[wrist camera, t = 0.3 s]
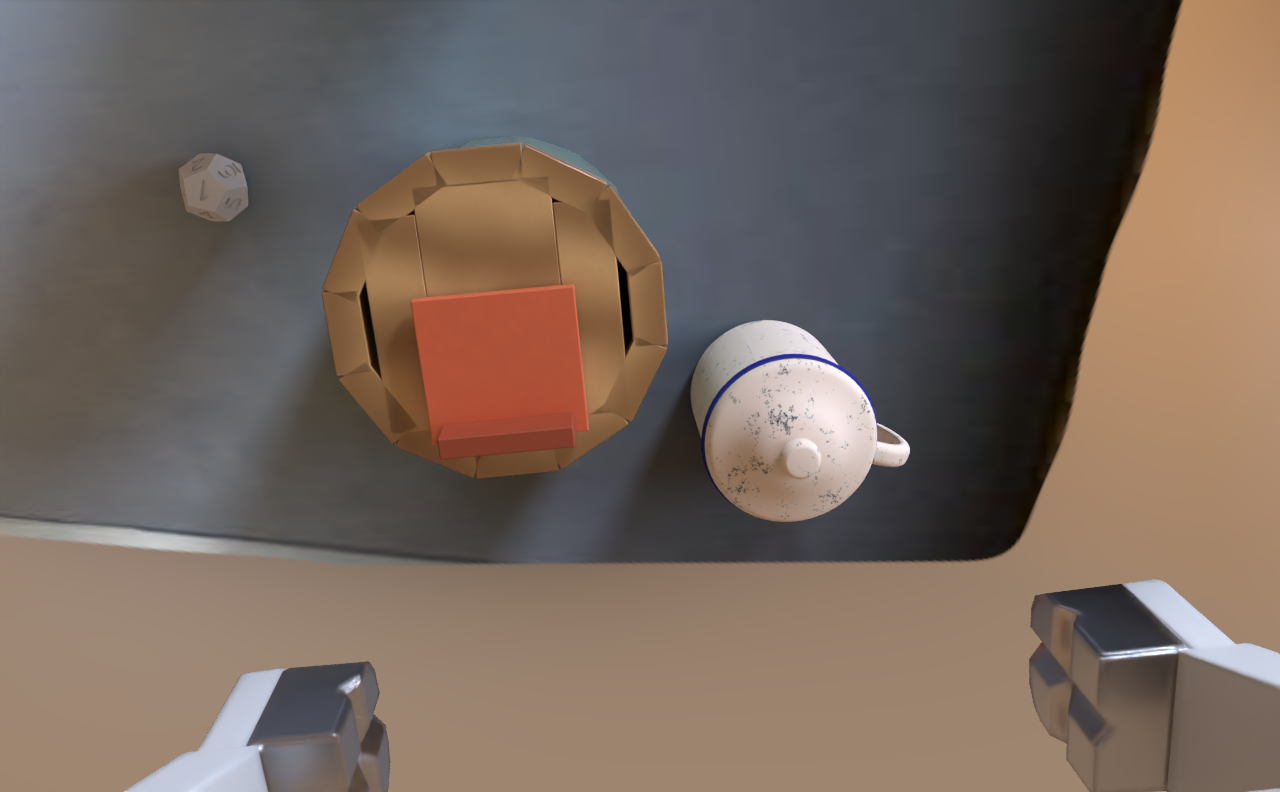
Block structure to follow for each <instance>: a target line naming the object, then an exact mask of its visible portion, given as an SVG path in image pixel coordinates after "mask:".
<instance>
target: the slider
mask: <svg viewBox="0 0 1280 792" xmlns="http://www.w3.org/2000/svg"><path fill="white" fill-rule="evenodd" d="M411 309H412V316H413V322H414V328H415V335H416V341H417V348H418V354H419V361H420V367H421V374H422V380H423V387H424V393H425V400H426V406H427V413H428V419H429V426H430V432H431V439H432V444H433V445H438V450H439V457H440V459H441V460H445V459H456V458H466V457H477V456H487V455H498V454H508V453H519V452H529V451H540V450H550V449H561V448H571V447H575V438H576V432H579V431H588V430H589V424H588V415H587V405H586V395H585V386H584V376H583V366H582V357H581V347H580V337H579V328H578V318H577V308H576V299H575V289H574V284H567V285H556V286H545V287H534V288H523V289H512V290H501V291H490V292H479V293H469V294H458V295H447V296H436V297H425V298H414V299H412V300H411Z"/></svg>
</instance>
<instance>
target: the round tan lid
mask: <svg viewBox="0 0 1280 792" xmlns="http://www.w3.org/2000/svg"><path fill="white" fill-rule="evenodd" d="M606 185H607V182H606V180H604V179H601V178H599V177H597V176H595V175H593V174H591V173H589V172H587V171H584V170H582V169H580V168H578V167H576V166H574V165H572V164H570V163H567V162H565V161H563V160H561V159H559V158H557V157H555V156H553V155H551V154H548V153H546V152H544V151H542V150H540V149H538V148H536V147H534V146H531V145H529V144H525V146H524V148H523V144H522V143H521V142H519V143H508V144H497V145H485V146H474V147H463V148H451V149H440V150H434V151H432V152H431V153H430V152H428V153H426V154H425V155H424V156H422V157H421V158H419V159H418V160H417V161H415V162H414V163H413V164H411V165H410V166H409V167H407V168H406V169H405V170H403V171H402V172H401V173H399V174H398V175H396V176H395V177H394V178H392V179H391V180H390V181H388V182H387V183H386V184H384V185H383V186H382V187H380V188H379V189H377V190H376V191H375V192H373V193H372V194H371V195H369V196H368V197H367V198H365V199H364V200H363V201H361V202H360V203H359V204H357V205H356V208H355V209H353V210H352V213H351V215H350V218H349V221H348V223H347V226H346V228H345V231H344V233H343V236H342V238H341V241H340V244H339V246H338V249H337V251H336V254H335V256H334V259H333V262H332V264H331V267H330V269H329V272H328V274H327V277H326V279H325V282H324V285H323V287H322V289H323V290H325V291H324V292H322V299H323V304H324V310H325V315H326V321H327V327H328V332H329V338H330V343H331V349H332V354H333V360H334V365H335V371H336V376H341V377H340V378H339V381H340V383H341V384H342V385H343V386H344V387H345V388H346V390H347V391H348V392H349V393H350V394H351V396H352V397H353V398H354V399H355V400H356V402H357V403H358V404H359V405H360V406H361V408H362V409H363V410H364V411H365V412H366V414H367V415H368V416H369V417H370V418H371V420H372V421H373V422H374V423H375V424H376V426H377V427H378V428H379V429H380V430H381V432H382V433H383V434H384V435H385V436H386V438H387V439H388V440H389V441H390V442H391V444H394V443H395V442H397V441H398V442H397V444H396V447H398V448H400V449H403V450H405V451H407V452H410V453H412V454H415V455H417V456H420V457H422V458H425V459H427V460H430V461H432V462H435V463H437V464H439V465H442V466H444V467H447V468H449V469H452V470H454V471H457V472H459V473H462V474H464V475H467V476H469V477H472V478H473V477H474V475H475V473H476V477H477V478H489V477H499V476H510V475H520V474H531V473H541V472H551V471H558V469H559V466H560V468H562V469H563V468H565V467H566V466H568V465H569V464H571V463H572V462H574V461H575V460H577V459H578V458H580V457H581V456H583V455H584V454H586V453H587V452H589V451H590V450H592V449H593V448H595V447H596V446H598V445H599V444H600V443H602V442H603V441H605V440H606V439H608V438H609V437H611V436H612V435H614V434H615V433H617V432H618V431H620V430H621V429H623V428H624V427H626V426H627V425H628V421H632V420H633V418H634V416H635V414H636V412H637V410H638V408H639V406H640V404H641V402H642V400H643V398H644V396H645V394H646V392H647V390H648V388H649V386H650V383H651V381H652V379H653V377H654V375H655V373H656V371H657V369H658V367H659V365H660V363H661V361H662V359H663V357H664V355H665V353H666V351H667V347H666V345H668V337H667V323H666V310H665V297H664V284H663V271H662V263H661V260H660V256H659V254H658V252H657V251H656V249H655V248H654V246H653V245H652V244H651V242H650V241H649V239H648V238H647V236H646V235H645V233H644V232H643V231H642V229H641V228H640V226H639V225H638V223H637V222H636V220H635V219H634V218H633V216H632V215H631V213H630V212H629V210H628V209H627V208H626V206H625V205H624V203H623V202H622V200H621V199H620V197H619V196H618V195H617V193H616V192H615V190H614V189H613V187H612V186H611V185H610V184H609V185H607V186H606ZM552 198H553V199H555V200H553V199H552ZM412 211H414V212H412ZM617 259H618V261H619V262H620V263H621V265H622V266H623V268H624V269H625V270H626V273H627V284H628V296H629V307H630V318H631V330H632V338H631V340H630V342H629V344H628V346H627V348H626V350H625V345H624V334H623V323H622V312H621V301H620V290H619V278H618V267H617ZM567 284H574V289H575V299H576V308H577V318H578V328H579V337H580V347H581V357H582V366H583V376H584V386H585V395H586V405H587V415H588V424H589V430H588V431H579V432H576V438H575V447H571V448H561V449H550V450H540V451H529V452H519V453H508V454H498V455H487V456H477V457H466V458H456V459H445V460H441V459H440V457H439V450H438V445H433V444H432V439H431V432H430V426H429V419H428V413H427V406H426V400H425V393H424V387H423V380H422V374H421V367H420V361H419V354H418V348H417V341H416V335H415V328H414V322H413V316H412V309H411V300H412V299H414V298H425V297H436V296H447V295H458V294H469V293H479V292H490V291H501V290H512V289H523V288H534V287H545V286H556V285H567ZM365 286H366V288H367V294H368V300H369V306H370V312H371V318H372V324H373V330H374V336H375V342H376V348H377V354H378V360H379V366H380V367H379V366H378V365H377V363H376V362H375V361H374V356H373V350H372V344H371V338H370V333H369V327H368V321H367V315H366V309H365V303H364V297H363V291H364V288H365Z"/></svg>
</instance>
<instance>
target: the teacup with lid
mask: <svg viewBox="0 0 1280 792" xmlns="http://www.w3.org/2000/svg"><path fill="white" fill-rule="evenodd" d="M691 405H692V410H693V414H694V417H695V420H696V424H697V427H698V430H699V433H700V436H701V448H702V456H703V461H704V464H705V468H706V470H707V473H708V475H709V477H710V479H711V481H712V482H713V484H714V486H715V487H716V488H717V490H718V491H719V492H720V493H721V495H722V496H723V497H724V498H726V499H727V500H728V501H729V502H730V503H731V504H733V505H734V506H736V507H737V508H739V509H740V510H742V511H744V512H746V513H748V514H750V515H753V516H755V517H758V518H762V519H765V520H771V521H779V522H792V521H801V520H806V519H810V518H814V517H816V516H819V515H822V514H824V513H826V512H828V511H830V510H832V509H833V508H835V507H837V506H838V505H840V504H841V503H842V502H844V501H845V500H846V499H847V498H848V497H850V496H851V495H852V494H853V492H854V491H855V490H856V489H857V488H858V487H859V486H860V484H861V483H862V481H863V480H864V478H865V477H866V475H867V473H868V471H869V469H870V467H871V464H875V465H880V466H886V467H898V466H901V465H903V464H904V463H905V462H906V460H907V458H908V456H909V452H910V448H909V445H908V444H907V442H906V441H905V440H904V439H903V438H902V437H900V436H899V435H898V434H896V433H895V432H893V431H892V430H890V429H888V428H886V427H884V426H882V425H880V424H878V423H877V419H876V414H875V411H874V407H873V404H872V402H871V400H870V398H869V396H868V394H867V392H866V391H865V389H864V388H863V387H862V385H861V384H860V383H859V382H858V380H857V379H856V378H855V377H854V376H853V375H851V374H850V373H849V372H848V371H847V370H845V369H844V368H842V367H841V366H839V365H838V364H837V363H836V361H835V360H834V359H833V358H832V357H831V355H830V354H829V353H828V352H827V351H826V349H825V348H824V347H823V346H822V345H821V344H820V343H819V341H818V340H816V339H815V338H814V337H813V336H812V335H811V334H809V333H808V332H806V331H804V330H803V329H801V328H799V327H797V326H794V325H792V324H789V323H785V322H780V321H773V320H763V321H754V322H749V323H746V324H742V325H740V326H737V327H735V328H733V329H731V330H729V331H727V332H726V333H724V334H723V335H721V336H720V337H719V338H717V339H716V340H715V341H714V342H713V343H712V344H711V345H710V346H709V347H708V348H707V350H706V351H705V352H704V354H703V355H702V357H701V358H700V360H699V362H698V364H697V366H696V369H695V371H694V374H693V378H692V384H691Z"/></svg>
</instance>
